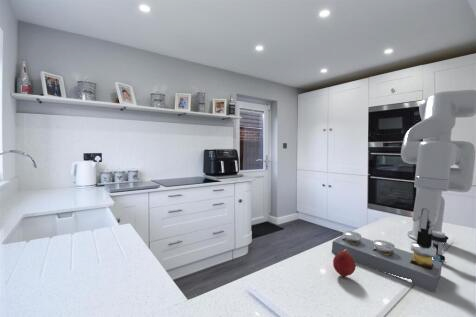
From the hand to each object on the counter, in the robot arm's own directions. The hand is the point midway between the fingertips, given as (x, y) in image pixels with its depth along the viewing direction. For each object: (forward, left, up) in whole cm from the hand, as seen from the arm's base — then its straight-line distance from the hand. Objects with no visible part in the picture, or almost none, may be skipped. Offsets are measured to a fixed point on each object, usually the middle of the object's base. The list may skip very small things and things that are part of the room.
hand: (423, 245), depth 68 cm
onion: (+19, -15, -10) cm, 26 cm away
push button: (-17, +2, -10) cm, 20 cm away
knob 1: (0, -20, -9) cm, 22 cm away
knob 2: (0, 0, -6) cm, 6 cm away
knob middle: (0, -10, -9) cm, 14 cm away
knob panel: (0, -10, -10) cm, 14 cm away
